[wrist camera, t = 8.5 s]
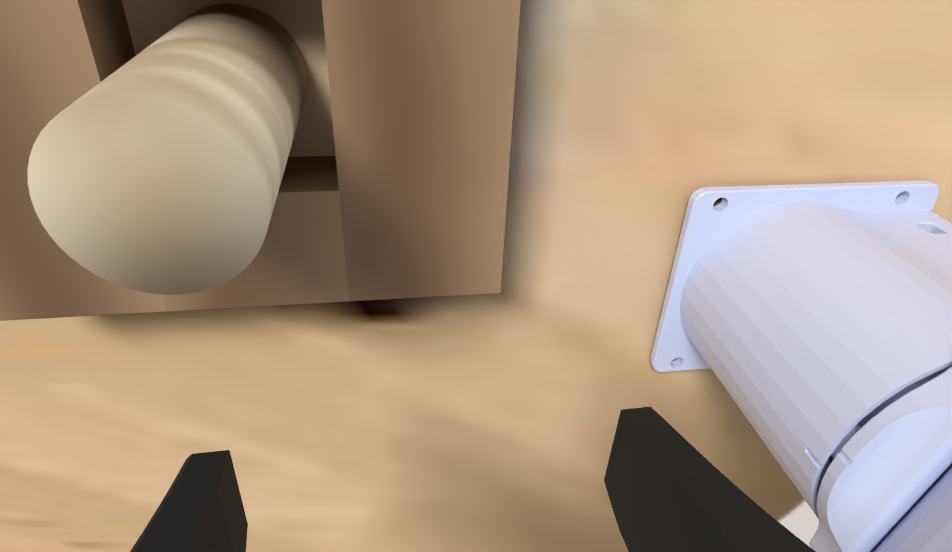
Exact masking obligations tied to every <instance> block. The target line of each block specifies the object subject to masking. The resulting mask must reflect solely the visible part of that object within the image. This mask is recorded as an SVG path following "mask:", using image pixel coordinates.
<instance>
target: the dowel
mask: <svg viewBox="0 0 952 552" xmlns="http://www.w3.org/2000/svg"><path fill="white" fill-rule="evenodd" d="M307 81H308V79H307V70H306V65H305V61H304V58H303V55H302V53H301V51H300V49H299V47H298V45H297V43H296V42H295V40H294V39H293V37H292V36H291V35H290V34H289V32H288V31H287V30H286V29H285V28H284V27H283V26H282V25H281V24H280V23H278V22H277V21H276V20H275V19H273V18H272V17H270V16H269V15H267V14H265V13H264V12H261V11H259V10H257V9H255V8H252V7H249V6H245V5H240V4H233V3H222V4H215V5H210V6H207V7H204V8H202V9H199V10H198V11H196V12H194V13H193V14H191V15H190V16H188V17H187V18H186V19H184V20H183V21H182V22H180V23H179V24H178V25H176V26H175V27H174V28H172V29H171V30H170V31H168V32H167V33H166V34H164V35H163V36H162V37H160V38H159V39H158V40H156V41H155V42H154V43H152V44H151V45H150V46H148V47H147V48H146V49H144V50H143V51H142V52H140V53H139V54H138V55H136V56H135V57H134V58H132V59H131V60H130V61H128V62H127V63H126V64H124V65H123V66H122V67H120V68H119V69H118V70H116V71H115V72H114V73H112V74H111V75H110V76H108V77H107V78H106V79H104V80H103V81H102V82H100V83H99V84H98V85H96V86H95V87H93V88H92V89H91V90H89V91H88V92H87V93H85V94H84V95H83V96H81V97H80V98H79V99H77V100H76V101H75V102H73V103H72V104H71V105H69V106H68V107H67V108H65V109H64V110H63V111H61V112H60V113H59V114H58V115H57V116H55V117H54V118H53V119H52V120H51V121H49V123H48V124H47V125H46V126H45V127H44V129H43V130H42V131H41V132H40V134H39V136H38V137H37V139H36V141H35V143H34V145H33V148H32V151H31V154H30V157H29V163H28V170H27V171H28V187H29V193H30V198H31V201H32V203H33V206H34V209H35V212H36V214H37V216H38V218H39V220H40V221H41V223H42V225H43V226H44V228H45V229H46V231H47V232H48V234H49V235H50V237H51V238H52V239H53V240H54V241H55V242H56V244H57V245H58V246H59V247H60V248H61V249H62V250H63V251H64V252H65V253H66V254H67V255H68V256H70V257H71V258H72V259H73V260H75V261H76V262H77V263H78V264H80V265H81V266H82V267H84V268H85V269H87V270H89V271H90V272H92V273H94V274H95V275H97V276H99V277H101V278H103V279H105V280H107V281H109V282H112V283H114V284H117V285H120V286H122V287H125V288H129V289H132V290H136V291H140V292H146V293H152V294H163V295H182V294H190V293H197V292H201V291H205V290H209V289H211V288H214V287H217V286H219V285H221V284H223V283H225V282H227V281H229V280H231V279H232V278H234V277H235V276H237V275H238V274H240V273H241V272H242V271H243V270H244V269H245V268H246V267H247V266H248V265H249V264H250V263H251V262H252V261H253V259H254V258H255V257H256V255H257V254H258V252H259V250H260V248H261V246H262V245H263V242H264V239H265V236H266V233H267V230H268V226H269V223H270V219H271V216H272V212H273V209H274V205H275V202H276V198H277V195H278V191H279V188H280V184H281V181H282V177H283V174H284V170H285V167H286V163H287V160H288V156H289V153H290V149H291V146H292V142H293V139H294V135H295V132H296V128H297V125H298V121H299V117H300V114H301V110H302V107H303V103H304V100H305V96H306V91H307Z"/></svg>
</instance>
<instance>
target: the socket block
mask: <svg viewBox="0 0 952 552" xmlns="http://www.w3.org/2000/svg"><path fill="white" fill-rule="evenodd" d="M222 3H233V4H240V5H245V6H249V7H252V8H255V9H257V10H259V11H261V12H264V13H265V14H267V15H269V16H270V17H272V18H273V19H275V20H276V21H277V22H278V23H280V24H281V25H282V26H283V27H284V28H285V29H286V30H287V31H288V32H289V34H290V35H291V36H292V37H293V39H294V40H295V42H296V43H297V45H298V47H299V49H300V51H301V53H302V55H303V58H304V61H305V65H306V70H307V79H308V81H307V91H306V96H305V100H304V103H303V107H302V110H301V114H300V117H299V121H298V125H297V128H296V132H295V135H294V139H293V142H292V146H291V149H290V153H289V156H288V160H287V163H286V167H285V170H284V174H283V177H282V181H281V184H280V188H279V191H278V195H277V198H276V202H275V205H274V209H273V212H272V216H271V219H270V223H269V226H268V230H267V233H266V236H265V239H264V242H263V245H262V246H261V248H260V250H259V252H258V254H257V255H256V257H255V258H254V259H253V261H252V262H251V263H250V264H249V265H248V266H247V267H246V268H245V269H244V270H243V271H242V272H241V273H240V274H238V275H237V276H235V277H234V278H232V279H231V280H229V281H227V282H225V283H223V284H221V285H219V286H217V287H214V288H211V289H209V290H205V291H201V292H197V293H190V294H182V295H163V294H152V293H146V292H140V291H136V290H132V289H129V288H125V287H122V286H120V285H117V284H114V283H112V282H109V281H107V280H105V279H103V278H101V277H99V276H97V275H95V274H94V273H92V272H90V271H89V270H87V269H85V268H84V267H82V266H81V265H80V264H78V263H77V262H76V261H75V260H73V259H72V258H71V257H70V256H68V255H67V254H66V253H65V252H64V251H63V250H62V249H61V248H60V247H59V246H58V245H57V244H56V242H55V241H54V240H53V239H52V238H51V237H50V235H49V234H48V232H47V231H46V229H45V228H44V226H43V225H42V223H41V221H40V220H39V218H38V216H37V214H36V212H35V209H34V206H33V203H32V201H31V198H30V193H29V187H28V171H27V170H28V163H29V157H30V154H31V151H32V148H33V145H34V143H35V141H36V139H37V137H38V136H39V134H40V132H41V131H42V130H43V129H44V127H45V126H46V125H47V124H48V123H49V121H51V120H52V119H53V118H54V117H55V116H57V115H58V114H59V113H60V112H61V111H63V110H64V109H65V108H67V107H68V106H69V105H71V104H72V103H73V102H75V101H76V100H77V99H79V98H80V97H81V96H83V95H84V94H85V93H87V92H88V91H89V90H91V89H92V88H93V87H95V86H96V85H98V84H99V83H100V82H102V81H103V80H104V79H106V78H107V77H108V76H110V75H111V74H112V73H114V72H115V71H116V70H118V69H119V68H120V67H122V66H123V65H124V64H126V63H127V62H128V61H130V60H131V59H132V58H134V57H135V56H136V55H138V54H139V53H140V52H142V51H143V50H144V49H146V48H147V47H148V46H150V45H151V44H152V43H154V42H155V41H156V40H158V39H159V38H160V37H162V36H163V35H164V34H166V33H167V32H168V31H170V30H171V29H172V28H174V27H175V26H176V25H178V24H179V23H180V22H182V21H183V20H184V19H186V18H187V17H188V16H190V15H191V14H193V13H194V12H196V11H198V10H199V9H202V8H204V7H207V6H210V5H215V4H222ZM520 5H521V0H0V321H3V320H21V319H39V318H57V317H75V316H93V315H112V314H130V313H148V312H166V311H184V310H202V309H220V308H238V307H256V306H274V305H292V304H310V303H328V302H346V301H364V300H382V299H400V298H418V297H436V296H454V295H472V294H490V293H501V280H502V266H503V251H504V237H505V222H506V208H507V193H508V179H509V164H510V150H511V135H512V121H513V106H514V92H515V77H516V63H517V49H518V34H519V20H520Z"/></svg>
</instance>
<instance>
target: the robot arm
mask: <svg viewBox="0 0 952 552" xmlns="http://www.w3.org/2000/svg"><path fill="white" fill-rule="evenodd" d="M900 193H901V194H900ZM899 194H900V195H899ZM898 195H899V197H897V196H898ZM938 195H939V187H938V186H937V185H936V184H934V183H932V182H930V181H926V180H922V181H890V182H858V183H826V184H794V185H762V186H730V187H704V188H700V189H698V190H697V191H695V192H694V193H693V194H692V195H691V197H690V199H689V201H688V205H687V210H686V214H685V218H684V222H683V226H682V230H681V234H680V238H679V242H678V247H677V251H676V255H675V259H674V263H673V267H672V271H671V275H670V279H669V284H668V288H667V292H666V296H665V300H664V304H663V308H662V312H661V316H660V321H659V325H658V329H657V333H656V337H655V341H654V345H653V349H652V353H651V358H650V363H651V364H652V366H653V368H654V369H655V370H656V371H658V372H670V371H683V370H696V369H709V368H711V369H712V371H713V372H714V373H715V375H716V376H717V377H718V379H719V380H720V382H721V383H722V384H723V386H724V387H725V389H726V390H727V391H728V393H729V394H730V396H731V397H732V398H733V400H734V401H735V403H736V404H737V405H738V407H739V408H740V410H741V411H742V412H743V414H744V415H745V417H746V418H747V419H748V421H749V422H750V424H751V425H752V426H753V428H754V429H755V431H756V432H757V433H758V435H759V436H760V438H761V439H762V440H763V442H764V443H765V445H766V446H767V447H768V449H769V450H770V452H771V453H772V454H773V456H774V457H775V458H776V460H777V461H778V463H779V464H780V465H781V467H782V468H783V470H784V471H785V472H786V474H787V475H788V477H789V478H790V479H791V481H792V482H793V484H794V485H795V486H796V488H797V489H798V491H799V492H800V493H801V495H802V496H803V498H804V499H805V500H806V502H807V503H808V505H809V506H810V507H811V509H812V510H813V512H814V513H815V514H816V516H817V517H818V519H819V526H818V529H817V531H816V533H815V535H814V536H813V538H812V539H811V541H810V546H811V547H812V548H810V547H809V546H808V545H806V544H805V543H804V542H803V541H801V540H800V539H799V538H797V537H796V536H795V535H794V534H792V533H791V532H790V531H789V530H788V529H786V528H785V527H784V526H783V525H781V524H780V523H779V522H778V521H776V520H775V519H774V518H773V517H772V516H770V515H769V514H768V513H767V512H765V511H764V510H763V509H762V508H761V507H760V506H758V505H757V504H756V503H755V502H754V501H752V500H751V499H750V498H749V497H748V496H747V495H745V494H744V493H743V492H742V491H741V490H740V489H739V488H738V487H736V486H735V485H734V484H733V483H732V482H731V481H730V480H729V479H727V478H726V477H725V476H724V475H723V474H722V473H721V472H720V471H719V470H717V469H716V468H715V467H714V466H713V465H712V464H711V463H710V462H709V461H708V460H707V459H706V458H704V457H703V456H702V455H701V454H700V453H699V452H698V451H697V450H696V449H695V448H694V447H693V446H692V445H691V444H690V443H688V442H687V441H686V440H685V439H684V438H683V437H682V436H681V435H680V434H679V433H678V432H677V431H676V430H675V429H674V428H673V427H672V426H671V425H669V424H668V423H667V422H666V421H665V420H664V419H663V418H662V417H661V416H660V415H659V414H658V413H657V412H656V411H655V410H653V409H652V408H651V407H644V408H634V409H624V410H621V412H620V417H619V421H618V425H617V429H616V433H615V437H614V441H613V445H612V450H611V454H610V458H609V462H608V466H607V470H606V474H605V479H604V481H605V485H606V488H607V491H608V495H609V498H610V501H611V505H612V508H613V511H614V514H615V517H616V520H617V523H618V526H619V529H620V532H621V534H622V537H623V539H624V541H625V544H626V546H627V548H628V551H629V552H952V223H950V222H949V221H947V220H945V219H943V218H942V217H940V216H938V215H936V214H935V213H933V212H931V210H932V208H933V206H934V204H935V202H936V200H937V198H938ZM896 197H897V198H896ZM718 198H722V201H721V202H720V203H719V204H718V205H717V206H713V204H714V202H715V201H716V200H717V199H718ZM675 358H677V359H676V360H674V359H675ZM672 360H674V361H672ZM247 526H248V524H247V520H246V516H245V512H244V508H243V504H242V500H241V495H240V491H239V487H238V483H237V479H236V475H235V471H234V467H233V463H232V459H231V455H230V451H229V450H226V451H216V452H206V453H197V454H192V455H190V456H189V457H188V458H187V459H186V461H185V463H184V464H183V466H182V468H181V470H180V472H179V473H178V475H177V477H176V479H175V480H174V482H173V484H172V485H171V487H170V489H169V491H168V492H167V494H166V496H165V497H164V499H163V501H162V502H161V504H160V506H159V507H158V509H157V510H156V512H155V514H154V515H153V517H152V518H151V520H150V522H149V523H148V525H147V526H146V528H145V530H144V531H143V533H142V534H141V536H140V537H139V539H138V540H137V542H136V543H135V545H134V546H133V548H132V549H131V551H130V552H246V539H247Z"/></svg>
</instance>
